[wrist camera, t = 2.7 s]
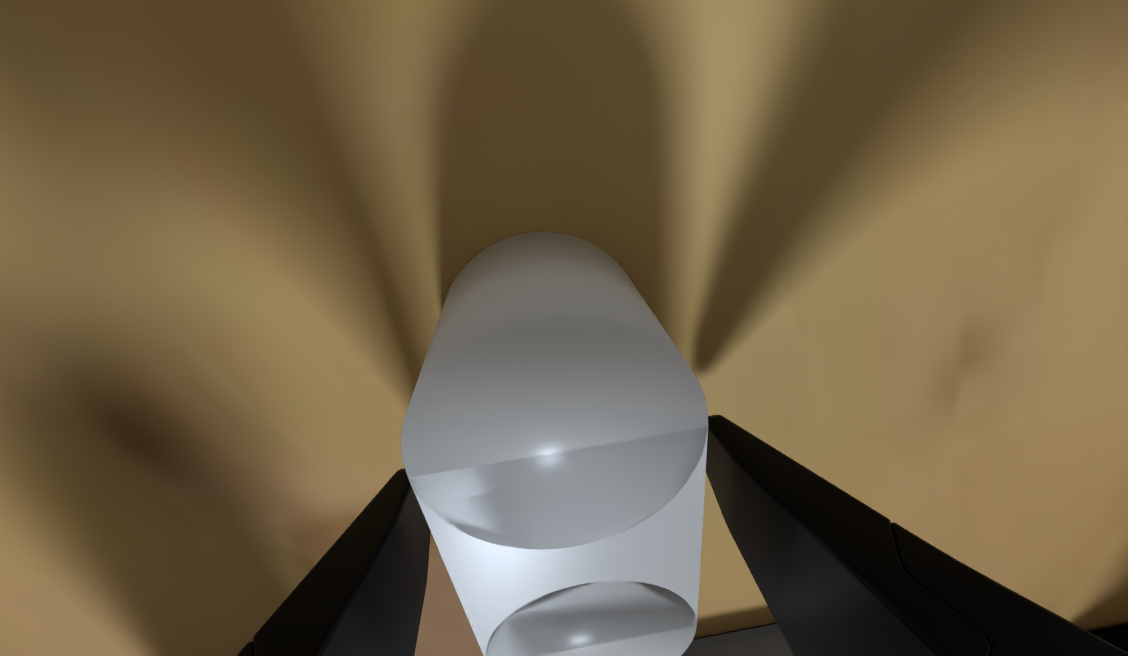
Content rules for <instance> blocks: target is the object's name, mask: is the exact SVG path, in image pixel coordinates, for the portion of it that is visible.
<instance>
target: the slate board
mask: <svg viewBox="0 0 1128 656" xmlns="http://www.w3.org/2000/svg"><path fill="white" fill-rule="evenodd" d="M681 656H794V655H793V653H792V651H791V649H790V647H789V646H788V644H787V642H786V640H785V638H784V636H783V634H782V632H781V630H780V628H779V626H778V624H773V625H768V626H763V627H757V628H752V629H747V630H742V631H737V632H731V633H726V634H721V635H716V636H711V637H705V638H700V639H695V640H692V642H691V644H690V645H689V647H688V648H687V649H686V651H685V652H684V653H683V654H682V655H681Z"/></svg>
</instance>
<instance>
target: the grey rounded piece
mask: <svg viewBox="0 0 1128 656" xmlns="http://www.w3.org/2000/svg"><path fill="white" fill-rule="evenodd" d="M707 438H708V410H707V405H706V400H705V396H704V393H703V391H702V388H701V386H700V383H699V381H698V379H697V378H696V376H695V375H694V373H693V371H692V370H691V368H690V367H689V365H688V364H687V362H686V361H685V359H684V358H683V356H682V355H681V353H680V352H679V350H678V349H677V347H676V346H675V345H674V343H673V342H672V340H671V339H670V337H669V336H668V334H667V333H666V331H665V330H664V328H663V327H662V326H661V324H660V323H659V321H658V320H657V318H656V317H655V315H654V314H653V312H652V311H651V309H650V308H649V306H648V305H647V304H646V302H645V301H644V299H643V298H642V296H641V295H640V293H639V292H638V290H637V289H636V287H635V286H634V284H633V283H632V282H631V280H630V279H629V277H628V276H627V274H626V273H625V271H624V270H623V269H622V267H621V266H620V265H619V264H618V263H617V262H616V260H614V259H613V258H612V257H611V256H610V255H609V254H608V253H607V252H605V251H604V250H602V249H601V248H599V247H598V246H596V245H594V244H592V243H590V242H588V241H586V240H584V239H581V238H578V237H575V236H572V235H568V234H562V233H557V232H532V233H524V234H520V235H515V236H512V237H509V238H506V239H503V240H500V241H498V242H496V243H494V244H492V245H491V246H489V247H487V248H485V249H484V250H482V251H481V252H480V253H478V254H477V255H475V256H474V257H473V258H472V259H471V260H470V261H469V262H468V263H467V264H466V265H465V266H464V267H463V268H462V270H461V271H460V272H459V273H458V275H457V276H456V278H455V280H454V281H453V283H452V285H451V287H450V289H449V291H448V294H447V296H446V299H445V302H444V305H443V308H442V311H441V314H440V317H439V319H438V322H437V325H436V328H435V331H434V334H433V337H432V340H431V343H430V346H429V349H428V351H427V354H426V357H425V360H424V363H423V366H422V369H421V372H420V375H419V378H418V381H417V383H416V386H415V389H414V392H413V395H412V398H411V401H410V404H409V407H408V410H407V413H406V416H405V420H404V425H403V429H402V441H401V450H402V457H403V464H404V467H405V470H406V473H407V476H408V479H409V481H410V483H411V486H412V488H413V491H414V493H415V495H416V498H417V500H418V502H419V505H420V507H421V509H422V512H423V514H424V516H425V519H426V521H427V523H428V526H429V528H430V530H431V533H432V535H433V537H434V540H435V542H436V545H437V547H438V549H439V552H440V554H441V556H442V559H443V561H444V563H445V566H446V568H447V570H448V573H449V575H450V577H451V580H452V582H453V584H454V587H455V589H456V592H457V594H458V596H459V599H460V601H461V603H462V606H463V608H464V610H465V613H466V615H467V617H468V620H469V622H470V624H471V627H472V629H473V631H474V634H475V636H476V638H477V641H478V643H479V646H480V648H481V650H482V653H483V655H484V656H681V655H682V654H683V653H684V652H685V651H686V649H687V648H688V647H689V645H690V644H691V642H692V640H693V638H694V635H695V633H696V627H697V612H698V595H699V577H700V560H701V542H702V525H703V508H704V490H705V473H706V456H707Z"/></svg>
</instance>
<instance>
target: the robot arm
mask: <svg viewBox="0 0 1128 656" xmlns="http://www.w3.org/2000/svg"><path fill="white" fill-rule="evenodd" d="M706 473H707V476H708V478H709V481H710V484H711V486H712V489H713V491H714V494H715V496H716V499H717V502H718V504H719V507H720V509H721V512H722V515H723V517H724V519H725V522H726V524H727V526H728V528H729V531H730V533H731V535H732V537H733V539H734V541H735V543H736V545H737V546H738V548H739V550H740V552H741V554H742V556H743V558H744V560H745V562H746V564H747V566H748V568H749V570H750V572H751V574H752V576H753V578H754V579H755V581H756V583H757V585H758V587H759V589H760V591H761V593H762V595H763V597H764V599H765V601H766V603H767V605H768V607H769V609H770V611H771V613H772V614H773V616H774V618H775V620H776V622H777V624H778V626H779V628H780V630H781V632H782V634H783V636H784V638H785V640H786V642H787V644H788V646H789V647H790V649H791V651H792V653H793V655H794V656H1128V628H1126V629H1121V630H1116V631H1111V632H1106V633H1101V634H1096V635H1094V634H1092V633H1090V632H1088V631H1086V630H1085V629H1083V628H1081V627H1079V626H1077V625H1075V624H1073V623H1072V622H1070V621H1068V620H1066V619H1064V618H1062V617H1060V616H1058V615H1057V614H1055V613H1053V612H1051V611H1049V610H1047V609H1045V608H1044V607H1042V606H1040V605H1038V604H1036V603H1034V602H1032V601H1031V600H1029V599H1027V598H1025V597H1023V596H1021V595H1019V594H1018V593H1016V592H1014V591H1012V590H1010V589H1008V588H1006V587H1005V586H1003V585H1001V584H999V583H997V582H995V581H994V580H992V579H990V578H988V577H986V576H985V575H983V574H981V573H979V572H977V571H976V570H974V569H972V568H970V567H968V566H967V565H965V564H963V563H961V562H959V561H958V560H956V559H954V558H953V557H951V556H949V555H948V554H946V553H944V552H943V551H941V550H939V549H937V548H936V547H934V546H932V545H931V544H929V543H927V542H926V541H924V540H922V539H921V538H919V537H917V536H916V535H914V534H913V533H911V532H909V531H908V530H906V529H904V528H903V527H901V526H900V525H898V524H896V523H894V522H893V523H891V522H890V520H889V519H888V518H886V517H885V516H883V515H882V514H880V513H878V512H877V511H875V510H873V509H872V508H870V507H869V506H867V505H865V504H864V503H862V502H860V501H859V500H857V499H856V498H854V497H852V496H851V495H849V494H848V493H846V492H844V491H843V490H841V489H839V488H838V487H836V486H835V485H833V484H831V483H830V482H828V481H827V480H825V479H823V478H822V477H820V476H818V475H817V474H815V473H814V472H812V471H810V470H809V469H807V468H806V467H804V466H802V465H801V464H799V463H797V462H796V461H794V460H793V459H791V458H789V457H788V456H786V455H785V454H783V453H781V452H780V451H778V450H776V449H775V448H773V447H772V446H770V445H768V444H767V443H765V442H763V441H762V440H760V439H759V438H757V437H755V436H754V435H752V434H751V433H749V432H747V431H746V430H744V429H742V428H741V427H739V426H738V425H736V424H734V423H733V422H731V421H730V420H728V419H726V418H725V417H723V416H721V415H712V416H708V438H707V456H706ZM429 546H430V528H429V526H428V523H427V521H426V519H425V516H424V514H423V512H422V509H421V507H420V505H419V502H418V500H417V498H416V495H415V493H414V491H413V488H412V486H411V483H410V481H409V479H408V476H407V473H406V470H405V468H404V469H400V470H398V471H397V472H396V473H395V474H394V475H393V476H392V478H391V479H390V480H389V481H388V482H387V483H386V484H385V486H384V487H383V488H382V489H381V490H380V491H379V493H378V494H377V495H376V496H375V497H374V498H373V499H372V501H371V502H370V503H369V504H368V505H367V506H366V507H365V509H364V510H363V511H362V512H361V513H360V514H359V516H358V517H357V518H356V519H355V520H354V521H353V522H352V524H351V525H350V526H349V527H348V528H347V529H346V531H345V532H344V533H343V534H342V535H341V536H340V537H339V539H338V540H337V541H336V542H335V543H334V544H333V545H332V547H331V548H330V549H329V550H328V551H327V552H326V554H325V555H324V556H323V557H322V558H321V559H320V560H319V562H318V563H317V564H316V565H315V566H314V567H313V569H312V570H311V571H310V572H309V573H308V574H307V575H306V577H305V578H304V579H303V580H302V581H301V582H300V583H299V585H298V586H297V587H296V588H295V589H294V590H293V592H292V593H291V594H290V595H289V596H288V597H287V598H286V600H285V601H284V602H283V603H282V604H281V605H280V607H279V608H278V609H277V610H276V611H275V612H274V613H273V615H272V616H271V617H270V618H269V619H268V620H267V621H266V623H265V624H264V625H263V626H262V627H261V628H260V630H259V631H258V632H257V633H256V634H255V635H254V637H253V642H252V641H250V642H248V643H247V644H246V645H245V647H244V648H243V649H242V650H241V651H240V652H239V653H238V655H237V656H414V653H415V648H416V642H417V636H418V630H419V625H420V619H421V613H422V607H423V602H424V596H425V590H426V583H427V574H428V561H429Z"/></svg>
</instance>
